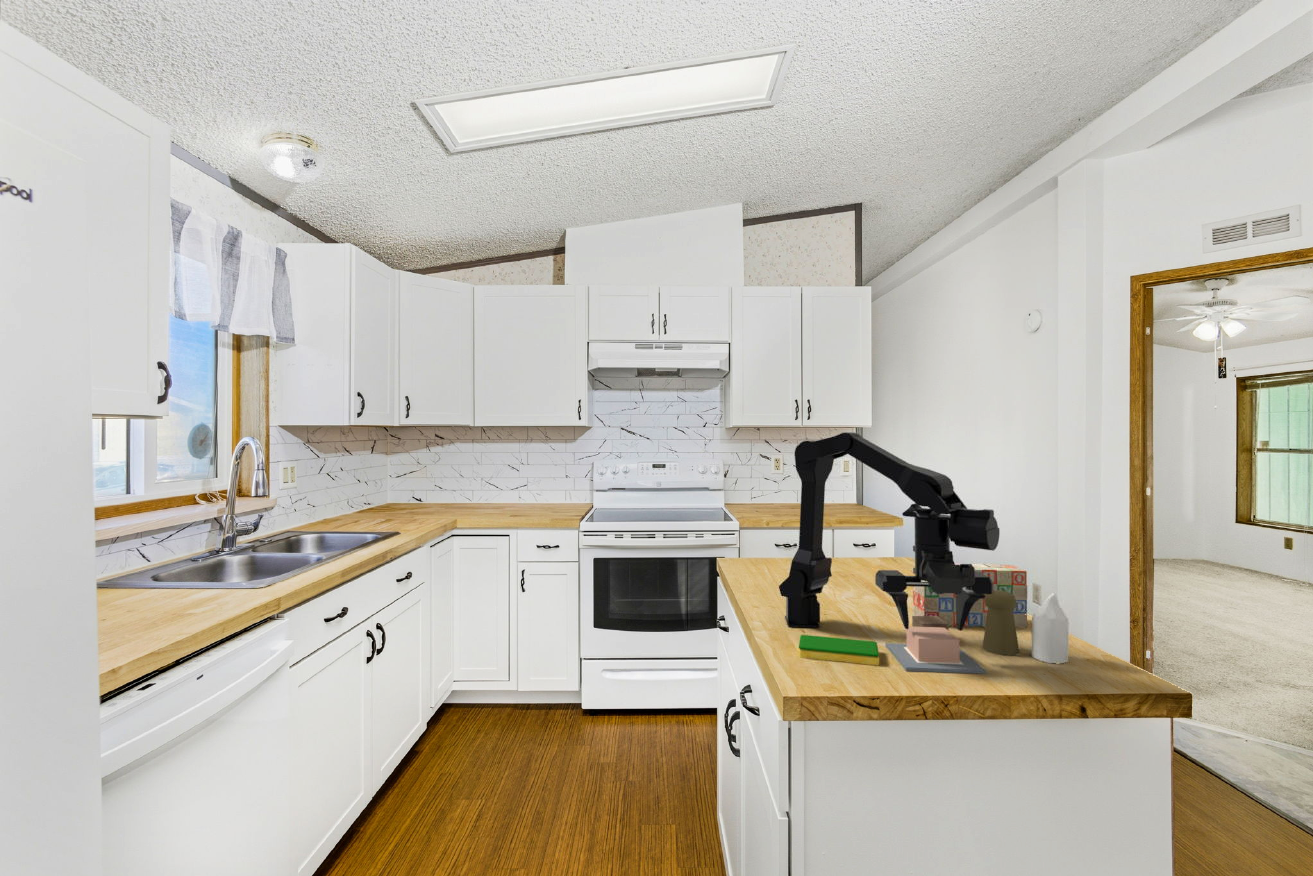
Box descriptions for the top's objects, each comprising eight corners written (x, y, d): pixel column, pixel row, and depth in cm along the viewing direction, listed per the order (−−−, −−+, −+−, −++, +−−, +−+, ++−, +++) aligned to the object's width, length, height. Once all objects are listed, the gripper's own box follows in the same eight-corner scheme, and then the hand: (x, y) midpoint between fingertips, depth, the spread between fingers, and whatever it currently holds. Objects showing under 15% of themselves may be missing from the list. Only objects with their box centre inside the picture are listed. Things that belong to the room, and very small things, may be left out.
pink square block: (918, 661, 101) (918, 638, 101) (906, 647, 108) (906, 626, 108) (959, 663, 100) (959, 640, 100) (944, 649, 107) (944, 627, 107)
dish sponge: (879, 668, 101) (879, 654, 101) (798, 659, 105) (798, 646, 105) (876, 653, 108) (876, 641, 108) (800, 646, 112) (800, 634, 112)
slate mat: (905, 670, 99) (905, 666, 99) (885, 646, 110) (885, 642, 110) (985, 673, 97) (985, 669, 97) (956, 648, 109) (956, 644, 109)
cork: (1015, 646, 110) (1014, 588, 110) (1023, 657, 104) (1023, 596, 104) (979, 642, 112) (978, 586, 112) (986, 653, 106) (985, 594, 106)
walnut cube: (922, 644, 112) (922, 623, 112) (912, 635, 117) (912, 616, 117) (948, 644, 112) (948, 623, 112) (937, 635, 117) (937, 616, 117)
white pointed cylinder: (1029, 586, 108) (1065, 590, 105) (1030, 650, 108) (1066, 655, 105) (1032, 594, 103) (1070, 597, 100) (1033, 661, 103) (1071, 666, 100)
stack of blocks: (923, 626, 123) (923, 568, 123) (912, 617, 129) (912, 562, 129) (1028, 628, 121) (1027, 569, 121) (1011, 619, 127) (1011, 563, 128)
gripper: (892, 550, 97) (892, 643, 97) (1009, 552, 95) (1010, 646, 95) (874, 539, 108) (874, 622, 108) (978, 540, 106) (979, 625, 106)
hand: (932, 629), depth 104 cm, fingers open, 9 cm apart
